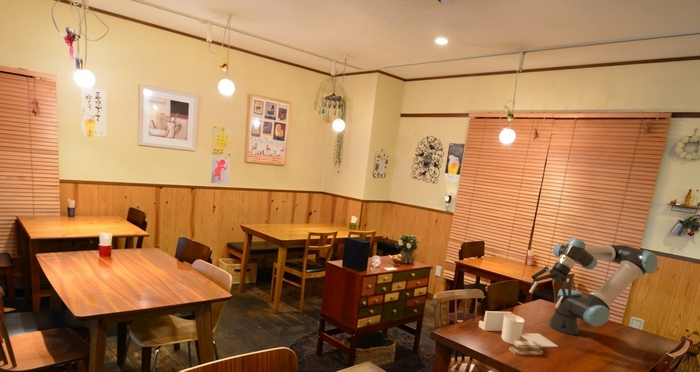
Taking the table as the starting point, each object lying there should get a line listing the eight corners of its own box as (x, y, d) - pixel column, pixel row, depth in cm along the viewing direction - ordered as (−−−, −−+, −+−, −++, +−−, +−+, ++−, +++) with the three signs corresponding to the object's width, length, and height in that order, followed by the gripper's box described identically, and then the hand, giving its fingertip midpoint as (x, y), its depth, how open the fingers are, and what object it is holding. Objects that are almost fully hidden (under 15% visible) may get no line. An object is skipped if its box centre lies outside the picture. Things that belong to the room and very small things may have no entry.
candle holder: (522, 347, 181) (527, 323, 180) (501, 342, 183) (506, 319, 182) (517, 338, 191) (521, 316, 190) (498, 334, 192) (501, 312, 192)
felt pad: (538, 334, 200) (538, 333, 200) (557, 347, 187) (558, 346, 187) (518, 334, 196) (518, 333, 196) (537, 347, 183) (537, 346, 183)
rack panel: (503, 326, 203) (506, 309, 203) (509, 330, 199) (512, 313, 198) (478, 326, 199) (481, 308, 198) (484, 330, 194) (487, 312, 194)
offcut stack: (535, 349, 181) (537, 340, 180) (542, 354, 176) (544, 345, 176) (508, 349, 176) (510, 340, 176) (515, 354, 172) (516, 345, 171)
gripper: (539, 251, 198) (518, 285, 196) (588, 276, 180) (566, 312, 179) (541, 255, 203) (521, 288, 202) (590, 279, 186) (568, 315, 184)
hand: (542, 300), depth 190 cm, fingers open, 13 cm apart
